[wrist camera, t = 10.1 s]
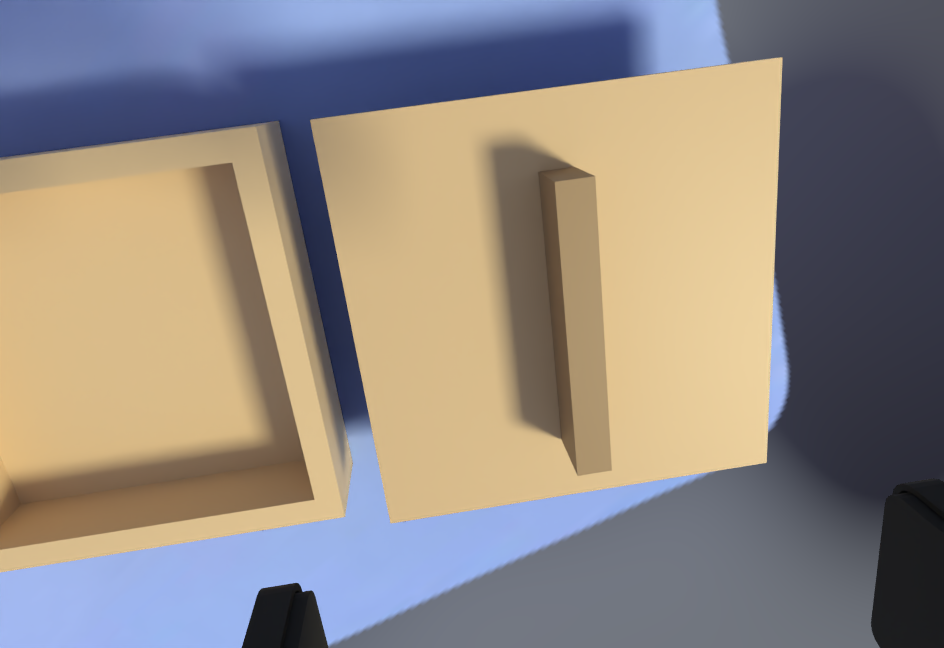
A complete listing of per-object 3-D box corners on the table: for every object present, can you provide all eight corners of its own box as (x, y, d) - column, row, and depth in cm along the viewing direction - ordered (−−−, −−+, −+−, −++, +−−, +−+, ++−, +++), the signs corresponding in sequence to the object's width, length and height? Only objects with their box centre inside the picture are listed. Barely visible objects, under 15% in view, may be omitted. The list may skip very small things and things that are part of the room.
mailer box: (-133, 175, 24) (-234, 190, 20) (279, 120, 25) (255, 126, 21) (16, 516, 29) (-42, 579, 25) (352, 462, 30) (344, 516, 26)
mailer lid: (312, 119, 21) (297, 123, 18) (772, 58, 21) (830, 53, 18) (391, 514, 26) (389, 567, 23) (759, 454, 26) (802, 499, 24)
